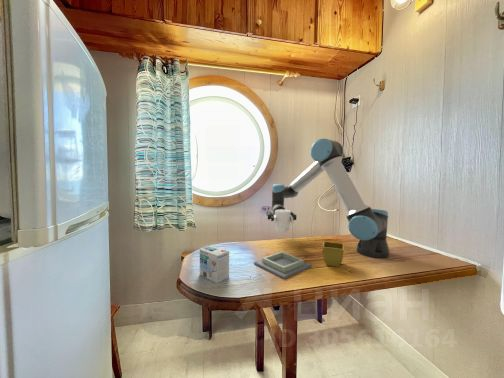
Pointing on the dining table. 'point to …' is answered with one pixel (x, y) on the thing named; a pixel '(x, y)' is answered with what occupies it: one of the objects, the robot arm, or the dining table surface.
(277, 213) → the white cup
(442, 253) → the dining table surface
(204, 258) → the light bulb box
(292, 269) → the holder tray
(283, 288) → the dining table surface
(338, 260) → the flower pot
